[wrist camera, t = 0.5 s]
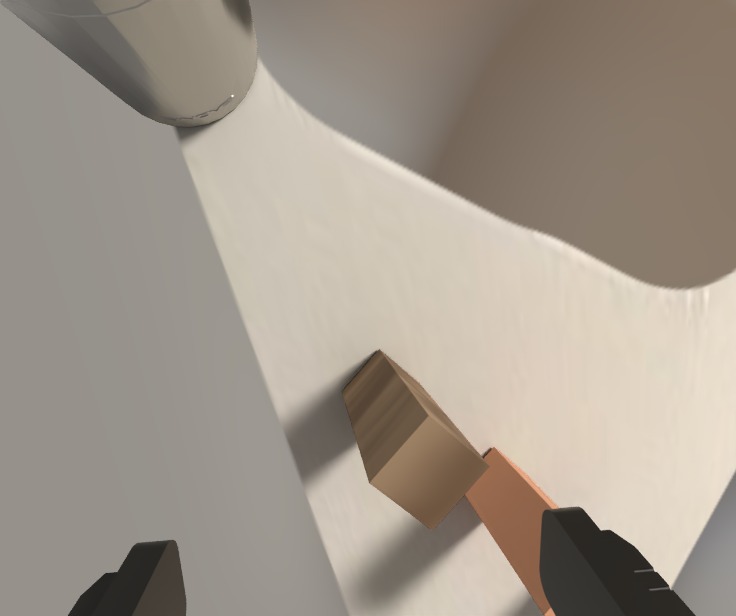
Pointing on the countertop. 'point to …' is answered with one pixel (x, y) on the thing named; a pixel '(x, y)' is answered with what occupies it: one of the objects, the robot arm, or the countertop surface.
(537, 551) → the terracotta pillar
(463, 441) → the walnut pillar
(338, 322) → the countertop surface
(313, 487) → the countertop surface
